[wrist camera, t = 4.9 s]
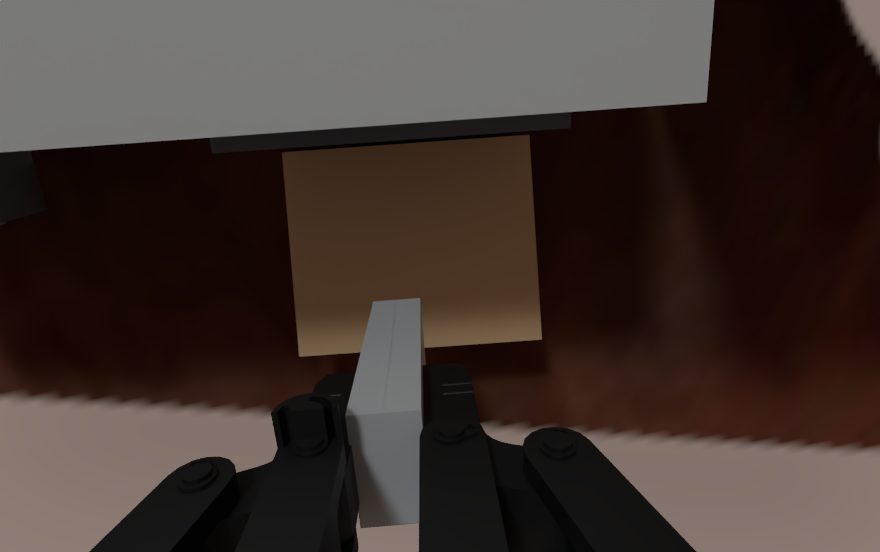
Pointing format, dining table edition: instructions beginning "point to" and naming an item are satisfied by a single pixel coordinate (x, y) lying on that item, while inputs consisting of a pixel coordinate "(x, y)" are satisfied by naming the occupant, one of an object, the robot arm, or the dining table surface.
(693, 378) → the dining table surface
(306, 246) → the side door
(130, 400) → the dining table surface
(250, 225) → the dining table surface
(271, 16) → the box
